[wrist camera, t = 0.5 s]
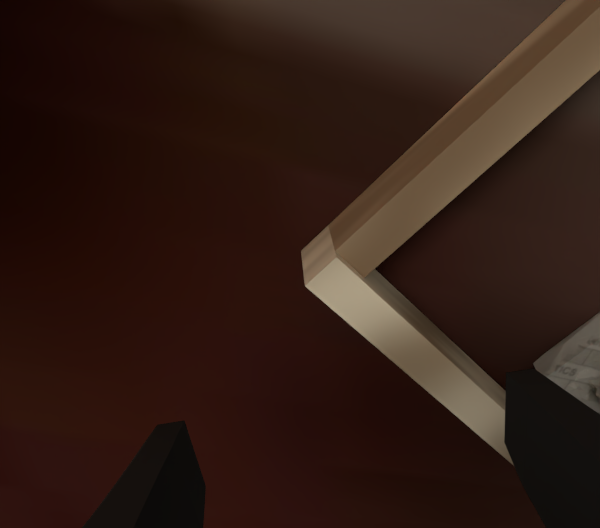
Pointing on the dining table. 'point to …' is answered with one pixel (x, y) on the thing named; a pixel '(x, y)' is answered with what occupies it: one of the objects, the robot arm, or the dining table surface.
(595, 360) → the packaged product
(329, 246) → the beige wooden frame
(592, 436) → the robot arm
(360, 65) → the dining table surface
